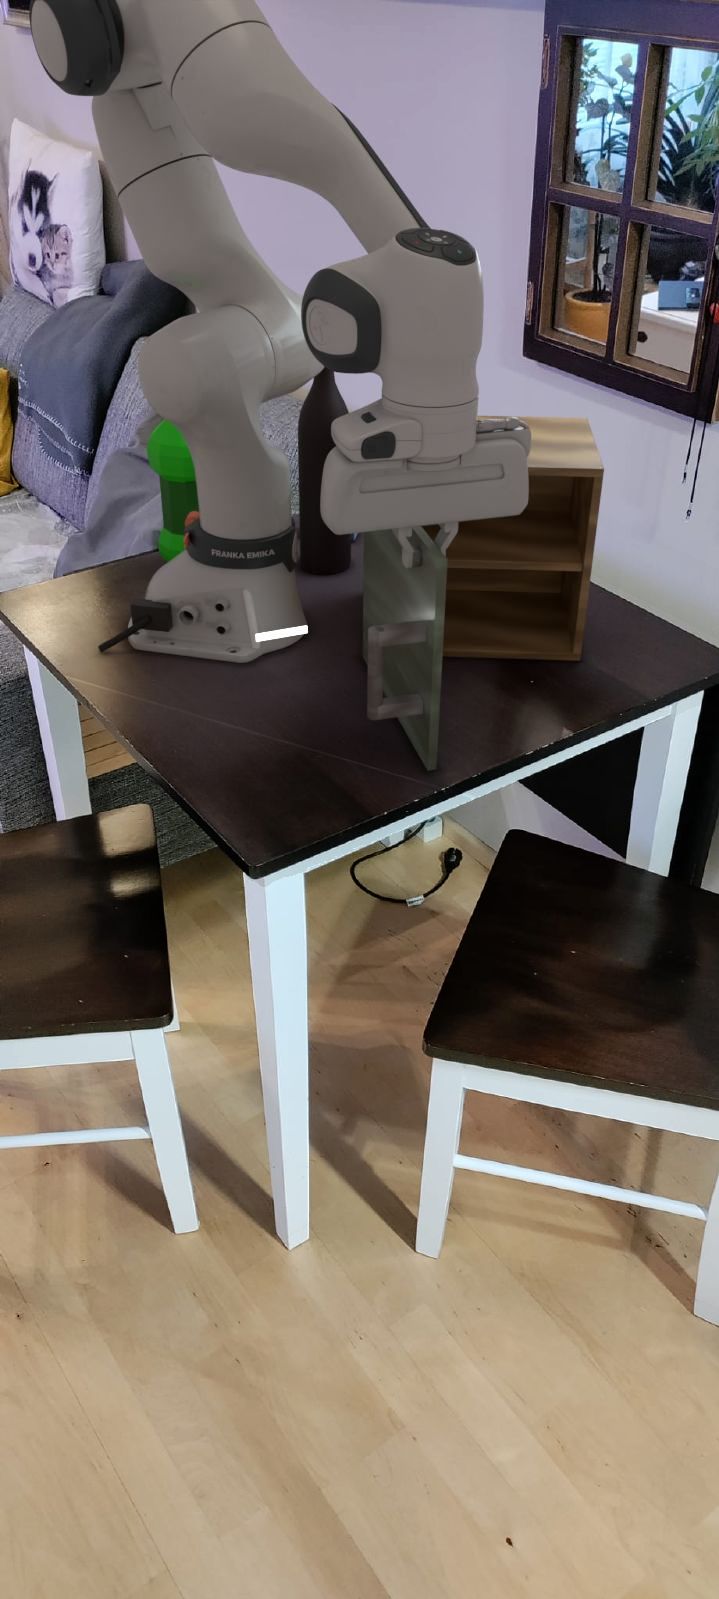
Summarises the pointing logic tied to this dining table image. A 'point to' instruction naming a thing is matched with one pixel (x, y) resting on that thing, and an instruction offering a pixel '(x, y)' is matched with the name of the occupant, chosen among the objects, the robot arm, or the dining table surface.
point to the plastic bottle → (173, 485)
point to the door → (405, 636)
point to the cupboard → (529, 556)
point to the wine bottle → (319, 477)
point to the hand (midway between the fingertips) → (423, 564)
